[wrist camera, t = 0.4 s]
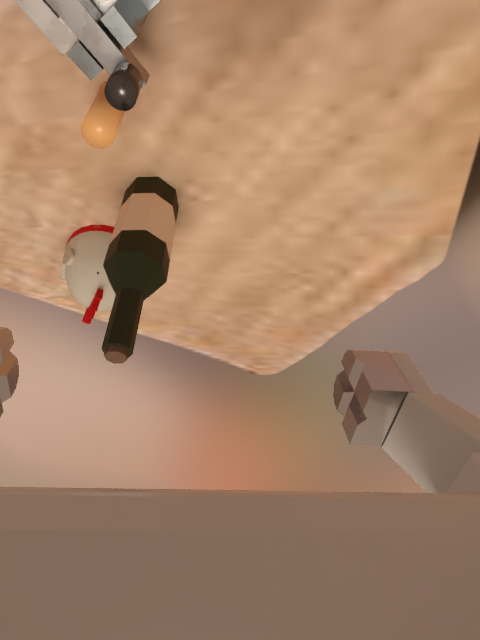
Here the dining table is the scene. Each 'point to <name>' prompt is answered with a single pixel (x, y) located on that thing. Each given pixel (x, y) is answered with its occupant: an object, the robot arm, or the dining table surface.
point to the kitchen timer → (89, 269)
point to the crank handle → (104, 51)
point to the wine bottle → (138, 259)
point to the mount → (117, 15)
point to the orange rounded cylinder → (101, 122)
